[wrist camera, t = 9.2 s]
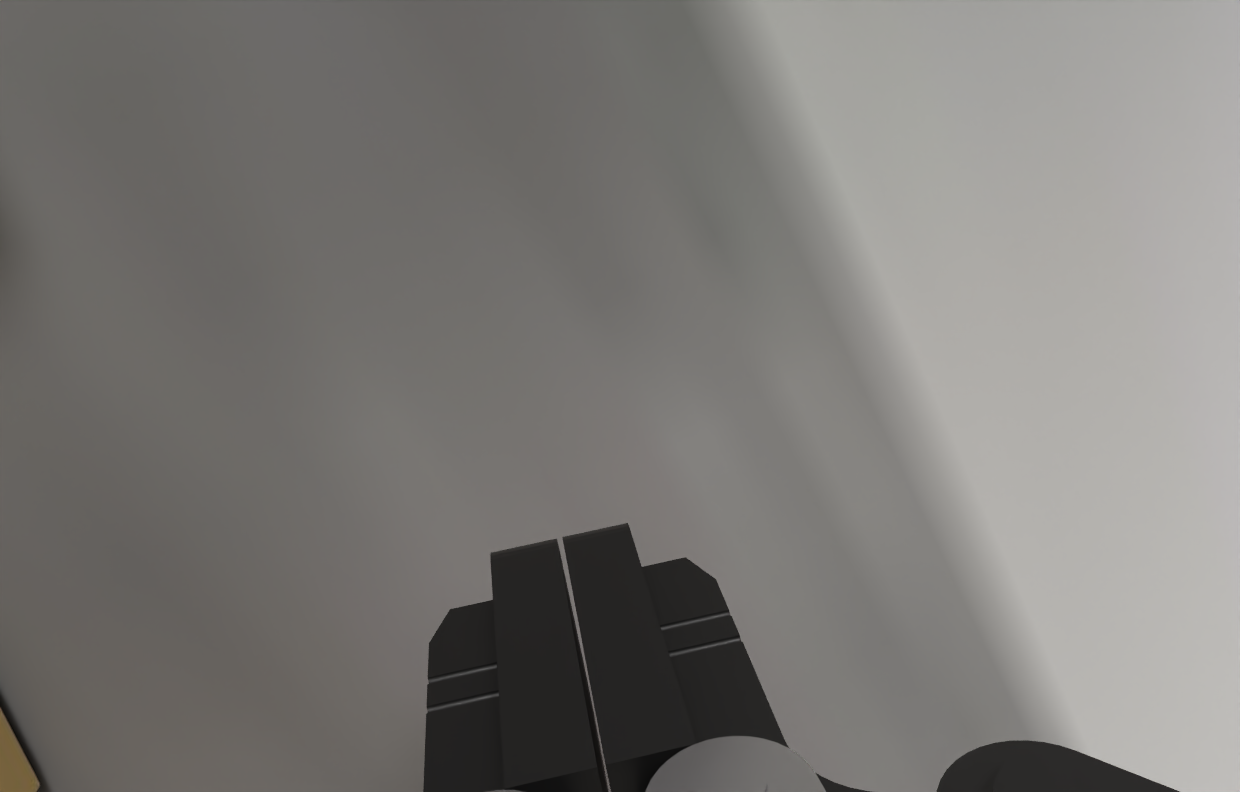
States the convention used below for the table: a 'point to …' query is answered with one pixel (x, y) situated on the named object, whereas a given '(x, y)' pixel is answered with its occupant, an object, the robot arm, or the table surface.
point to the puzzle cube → (14, 762)
